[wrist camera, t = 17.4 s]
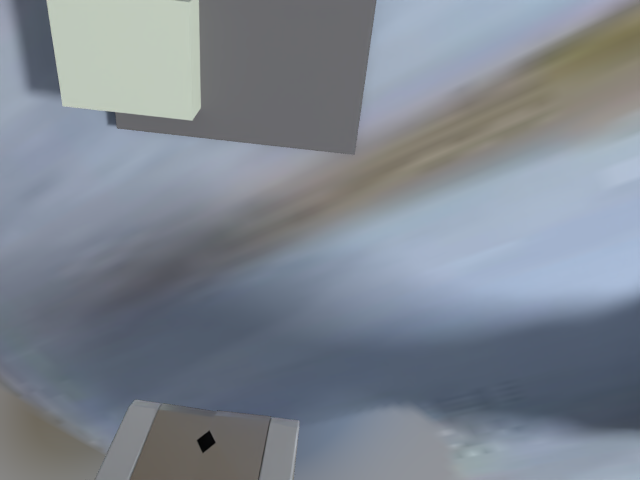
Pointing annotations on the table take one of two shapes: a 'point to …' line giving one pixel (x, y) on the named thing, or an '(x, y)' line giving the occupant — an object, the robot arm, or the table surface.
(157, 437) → the robot arm
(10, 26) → the table surface
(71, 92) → the block
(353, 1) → the mat
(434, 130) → the table surface
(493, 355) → the table surface
